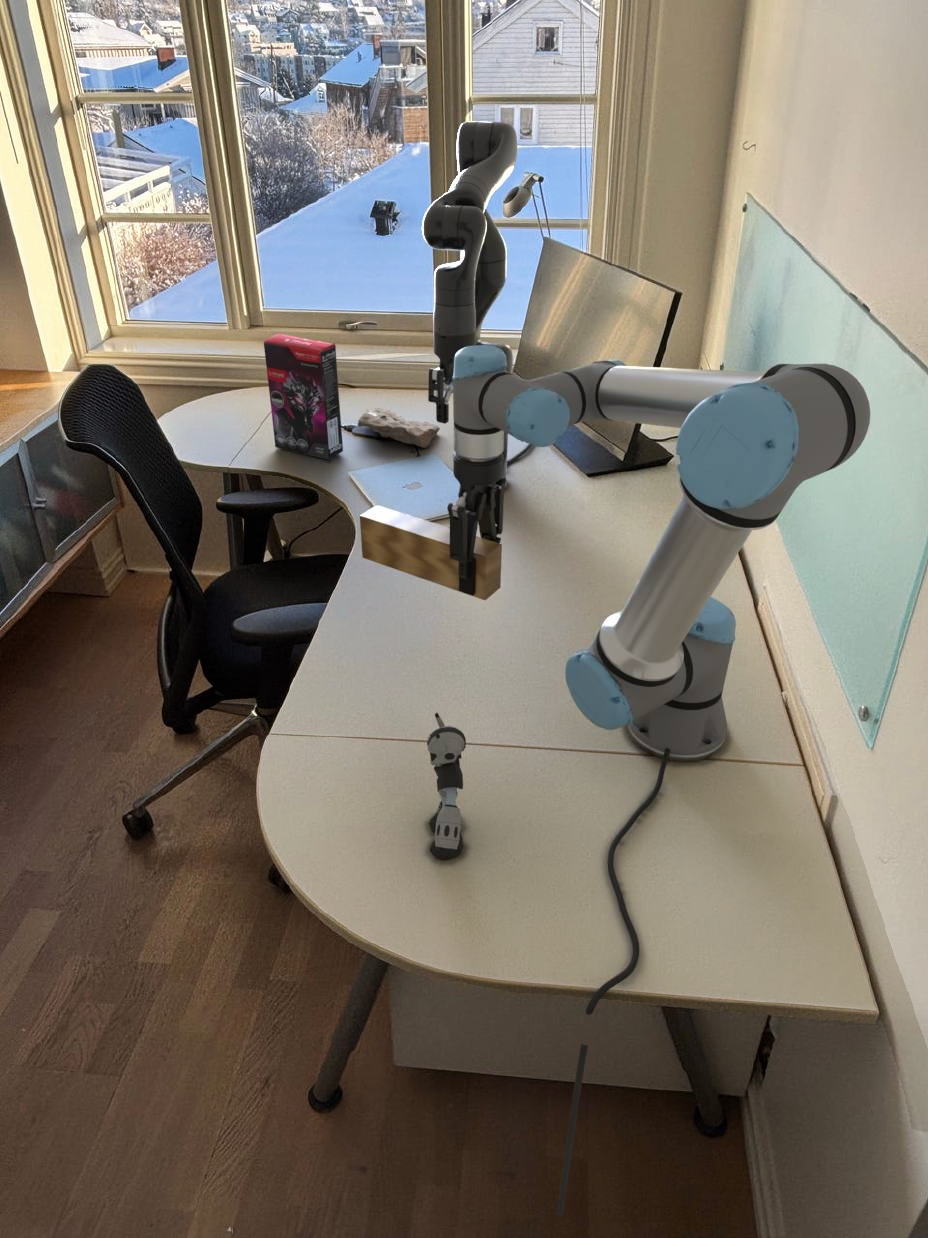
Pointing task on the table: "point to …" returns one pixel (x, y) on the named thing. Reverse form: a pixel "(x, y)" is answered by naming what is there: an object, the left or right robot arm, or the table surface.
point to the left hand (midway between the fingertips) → (454, 414)
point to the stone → (398, 427)
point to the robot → (447, 789)
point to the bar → (425, 550)
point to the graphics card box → (304, 395)
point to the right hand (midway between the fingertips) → (476, 584)
